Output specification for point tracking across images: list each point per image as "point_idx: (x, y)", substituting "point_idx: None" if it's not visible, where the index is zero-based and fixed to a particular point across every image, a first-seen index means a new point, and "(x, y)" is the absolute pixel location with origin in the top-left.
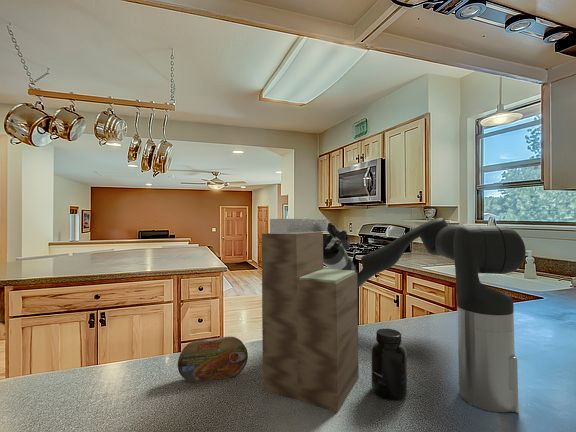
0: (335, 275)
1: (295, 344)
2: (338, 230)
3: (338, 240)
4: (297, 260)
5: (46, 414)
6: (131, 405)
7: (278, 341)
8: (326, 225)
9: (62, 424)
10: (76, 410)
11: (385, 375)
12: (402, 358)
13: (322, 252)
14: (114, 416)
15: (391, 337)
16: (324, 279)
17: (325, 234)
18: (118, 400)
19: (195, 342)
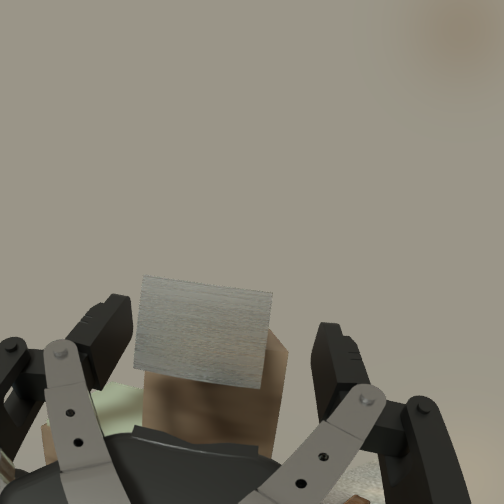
0: (108, 399)
1: None
2: (50, 346)
3: (20, 478)
4: None
5: (379, 467)
6: (342, 493)
7: None
8: (141, 323)
9: (355, 469)
10: (369, 476)
11: None
12: None
13: (144, 405)
14: (336, 484)
15: (21, 470)
16: (130, 386)
17: (151, 433)
18: (361, 491)
19: (355, 498)
